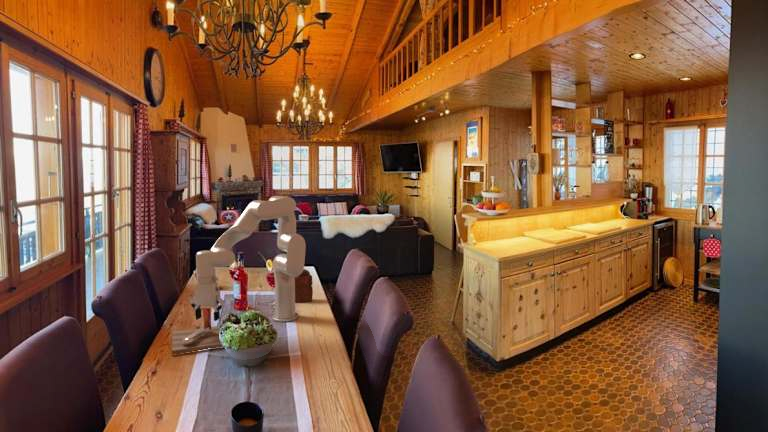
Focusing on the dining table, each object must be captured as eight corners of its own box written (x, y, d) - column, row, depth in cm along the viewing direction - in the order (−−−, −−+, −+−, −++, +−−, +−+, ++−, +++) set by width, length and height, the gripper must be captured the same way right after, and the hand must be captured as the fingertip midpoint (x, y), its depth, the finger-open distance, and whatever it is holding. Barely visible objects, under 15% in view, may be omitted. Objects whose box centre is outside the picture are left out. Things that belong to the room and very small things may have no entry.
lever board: (172, 336, 196) (172, 331, 195) (219, 330, 204) (219, 325, 203) (172, 355, 176) (171, 350, 176) (223, 348, 184) (223, 342, 183)
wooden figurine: (311, 298, 253) (311, 267, 251) (312, 302, 247) (312, 269, 245) (290, 300, 250) (289, 268, 248) (291, 303, 244) (290, 271, 242)
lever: (205, 329, 197) (204, 307, 196) (213, 330, 196) (213, 308, 195) (180, 345, 180) (179, 320, 179) (190, 345, 179) (189, 321, 178)
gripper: (229, 278, 195) (230, 317, 197) (193, 276, 198) (194, 315, 200) (220, 282, 188) (221, 323, 189) (182, 280, 191) (184, 320, 193)
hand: (207, 319), depth 195 cm, fingers open, 8 cm apart
